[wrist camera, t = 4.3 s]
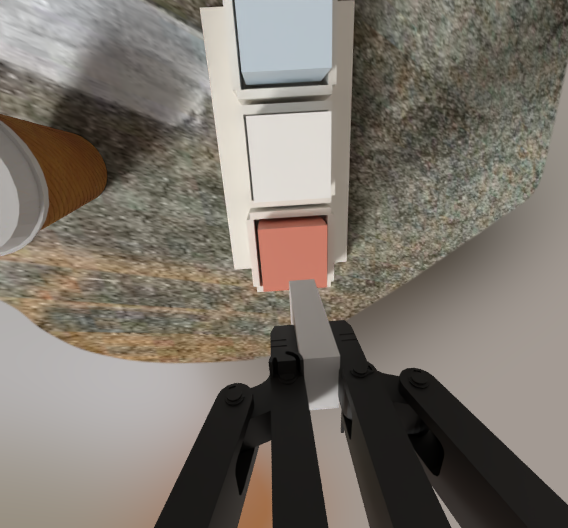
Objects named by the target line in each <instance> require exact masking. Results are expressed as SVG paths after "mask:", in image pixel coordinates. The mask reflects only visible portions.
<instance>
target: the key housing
mask: <svg viewBox="0 0 568 528" xmlns="http://www.w3.org/2000/svg"><path fill="white" fill-rule="evenodd" d="M354 4H355V0H350V1H338V0H332V68H331V69H330V71H329V72H328V73H327V74H326V75H325V77H324V78H323V79H322V80H321V81H313V82H295V83H276V84H258V85H246V83H245V80H244V78H243V75H242V71H241V61H240V50H239V40H238V29H237V19H236V9H235V0H223V7H206V8H200V13H201V21H202V28H203V36H204V43H205V51H206V58H207V66H208V73H209V81H210V88H211V96H212V103H213V111H214V118H215V126H216V133H217V141H218V148H219V156H220V163H221V171H222V178H223V186H224V193H225V201H226V208H227V216H228V223H229V230H230V238H231V245H232V253H233V260H234V268H235V269H247V268H252V276H253V285H254V287H257V292H264V291H263V281H262V270H261V259H260V249H259V238H258V224H259V219H270V218H285V217H300V216H315V215H320V216H321V217H322V219H323V220H324V221H325V223H326V224H327V287H331V281H334V262H346V259H347V227H348V195H349V163H350V131H351V99H352V67H353V35H354ZM327 111H331V198H320V199H304V200H289V201H273V202H258V203H254V197H253V186H252V176H251V166H250V155H249V145H248V134H247V124H246V116H257V115H275V114H292V113H309V112H327Z"/></svg>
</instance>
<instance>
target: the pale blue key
mask: <svg viewBox="0 0 568 528" xmlns="http://www.w3.org/2000/svg"><path fill="white" fill-rule="evenodd" d="M235 9H236V19H237V29H238V40H239V50H240V61H241V71H242V75H243V78H244V80H245V83H246V85H258V84H276V83H295V82H313V81H321V80H322V79H323V78H324V77H325V75H326V74H327V73H328V72H329V71H330V69H331V68H332V0H235Z"/></svg>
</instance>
